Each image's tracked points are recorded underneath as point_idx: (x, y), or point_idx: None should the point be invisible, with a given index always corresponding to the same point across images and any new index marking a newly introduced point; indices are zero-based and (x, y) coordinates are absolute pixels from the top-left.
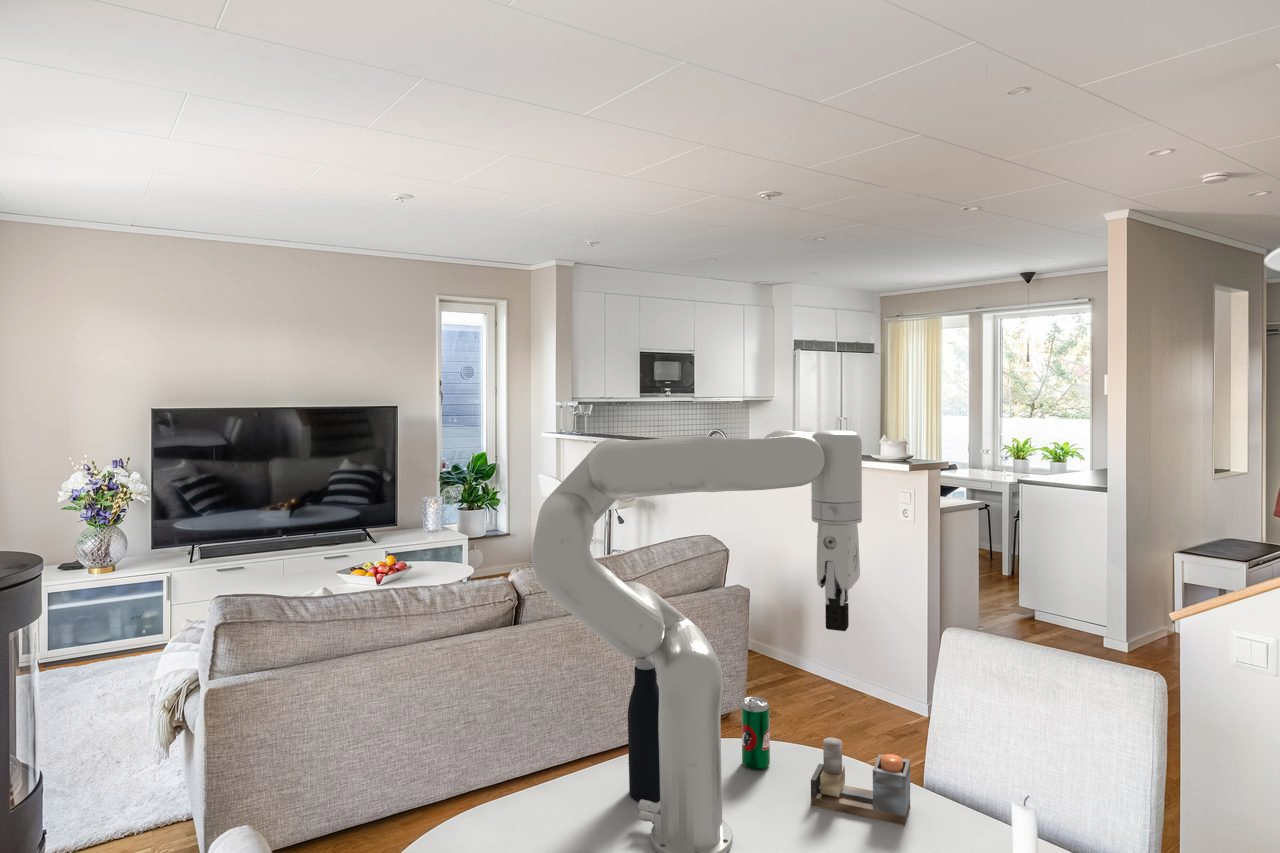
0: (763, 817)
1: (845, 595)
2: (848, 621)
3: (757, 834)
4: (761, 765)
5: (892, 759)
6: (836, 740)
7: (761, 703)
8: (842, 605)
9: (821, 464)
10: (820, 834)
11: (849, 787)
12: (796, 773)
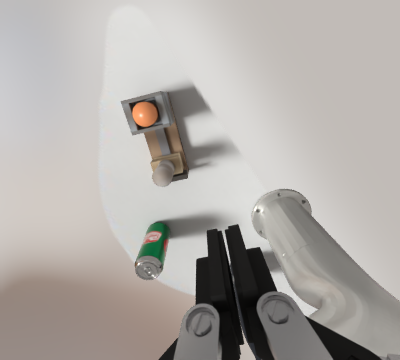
0: (225, 191)
1: (219, 342)
2: (208, 241)
3: (248, 183)
4: (164, 225)
5: (144, 113)
6: (157, 175)
7: (145, 264)
8: (287, 299)
9: None
10: (222, 146)
11: (152, 153)
12: (149, 201)
